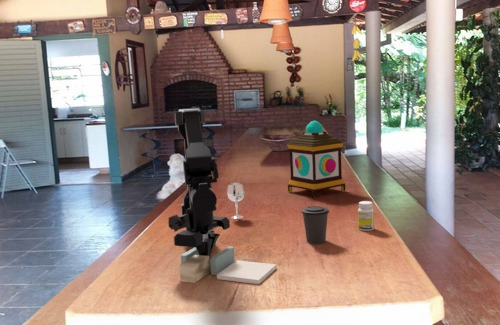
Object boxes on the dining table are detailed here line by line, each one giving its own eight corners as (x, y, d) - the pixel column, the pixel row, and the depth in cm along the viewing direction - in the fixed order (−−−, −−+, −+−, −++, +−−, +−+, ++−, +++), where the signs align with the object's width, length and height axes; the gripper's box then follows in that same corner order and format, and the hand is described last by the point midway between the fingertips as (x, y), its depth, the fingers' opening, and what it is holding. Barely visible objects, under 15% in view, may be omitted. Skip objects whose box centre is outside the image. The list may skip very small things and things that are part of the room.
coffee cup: (301, 237, 156) (300, 204, 155) (328, 236, 156) (327, 203, 154) (303, 245, 148) (301, 211, 147) (331, 244, 148) (330, 210, 146)
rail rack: (201, 258, 142) (200, 243, 141) (234, 261, 138) (233, 246, 137) (181, 270, 133) (180, 255, 132) (216, 274, 129) (215, 259, 128)
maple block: (196, 269, 133) (195, 254, 132) (210, 271, 131) (209, 255, 131) (180, 281, 126) (179, 265, 125) (195, 282, 124) (194, 266, 123)
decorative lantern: (350, 191, 217) (349, 119, 213) (314, 199, 206) (311, 123, 202) (318, 185, 234) (316, 118, 229) (283, 192, 223) (280, 121, 218)
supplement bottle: (364, 226, 165) (363, 200, 164) (377, 228, 162) (376, 201, 160) (355, 229, 162) (354, 203, 160) (368, 232, 158) (368, 204, 157)
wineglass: (225, 218, 184) (223, 184, 182) (237, 214, 188) (235, 181, 186) (237, 220, 180) (235, 186, 178) (248, 216, 184) (247, 183, 182)
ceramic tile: (237, 264, 136) (237, 260, 136) (276, 268, 131) (276, 264, 131) (216, 278, 126) (216, 274, 126) (258, 284, 121) (258, 280, 121)
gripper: (192, 194, 143) (196, 249, 145) (152, 210, 126) (157, 272, 129) (229, 196, 138) (232, 253, 141) (192, 213, 122) (197, 277, 124)
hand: (205, 263), depth 134 cm, fingers closed
